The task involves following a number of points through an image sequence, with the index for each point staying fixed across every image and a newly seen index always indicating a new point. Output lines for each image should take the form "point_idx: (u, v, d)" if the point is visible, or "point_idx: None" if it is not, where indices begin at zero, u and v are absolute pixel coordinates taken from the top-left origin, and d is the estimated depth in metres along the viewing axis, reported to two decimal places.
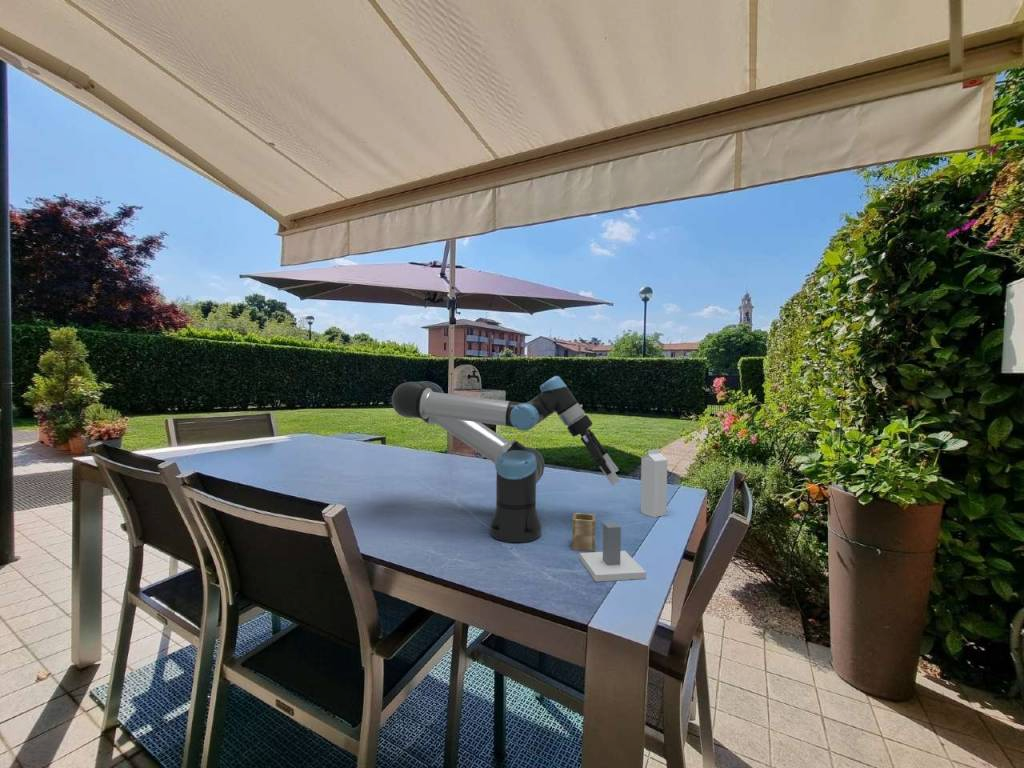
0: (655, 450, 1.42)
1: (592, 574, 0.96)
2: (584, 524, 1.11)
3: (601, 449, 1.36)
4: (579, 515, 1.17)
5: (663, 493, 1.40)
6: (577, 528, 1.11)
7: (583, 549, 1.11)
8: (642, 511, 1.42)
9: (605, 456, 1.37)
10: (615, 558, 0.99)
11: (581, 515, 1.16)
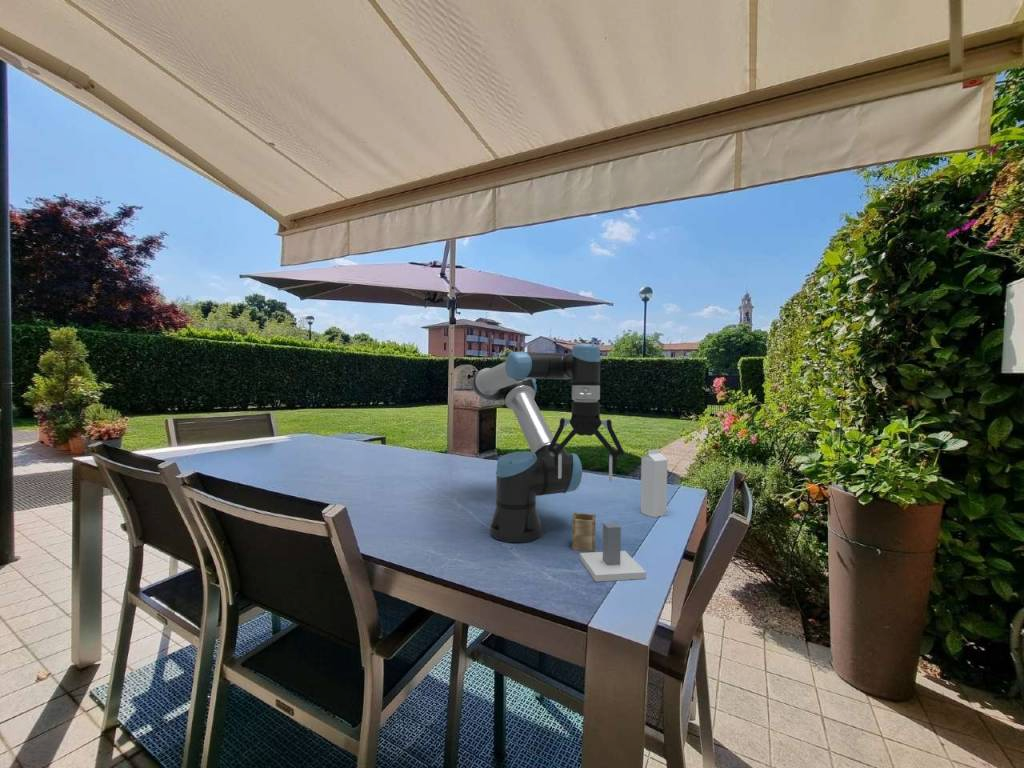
0: (655, 450, 1.42)
1: (592, 574, 0.96)
2: (584, 524, 1.11)
3: None
4: (579, 515, 1.17)
5: (663, 493, 1.40)
6: (577, 528, 1.11)
7: (583, 549, 1.11)
8: (642, 511, 1.42)
9: (609, 458, 1.12)
10: (615, 558, 0.99)
11: (581, 515, 1.16)
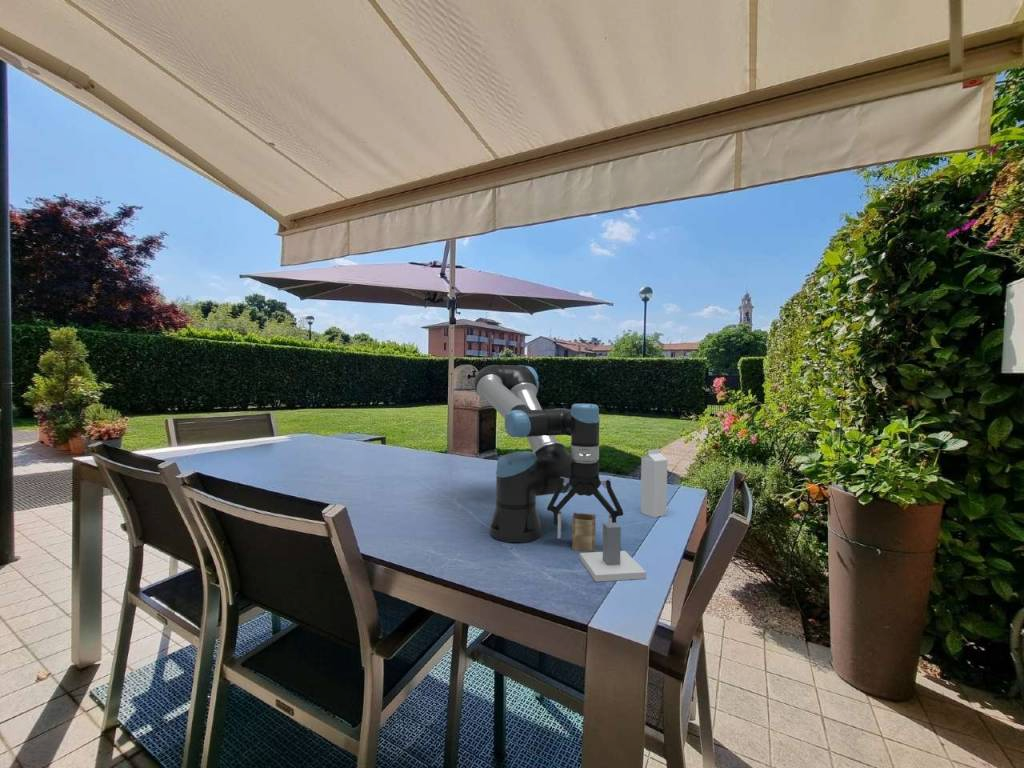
0: (655, 450, 1.42)
1: (592, 574, 0.96)
2: (584, 524, 1.11)
3: (606, 509, 1.12)
4: (579, 515, 1.17)
5: (663, 493, 1.40)
6: (577, 528, 1.11)
7: (583, 549, 1.11)
8: (642, 511, 1.42)
9: None
10: (615, 558, 0.99)
11: (581, 515, 1.16)
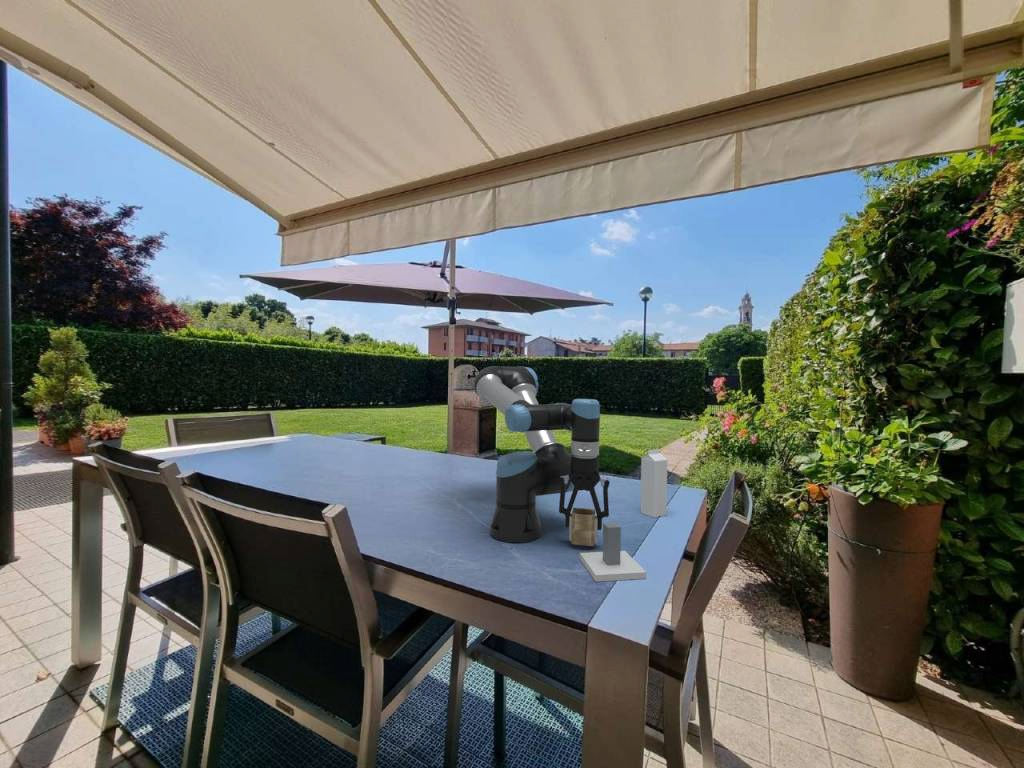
0: (655, 450, 1.42)
1: (592, 574, 0.96)
2: (583, 519, 1.11)
3: None
4: (579, 510, 1.17)
5: (663, 493, 1.40)
6: (577, 523, 1.12)
7: (582, 544, 1.12)
8: (642, 511, 1.42)
9: None
10: (615, 558, 0.99)
11: (581, 510, 1.17)
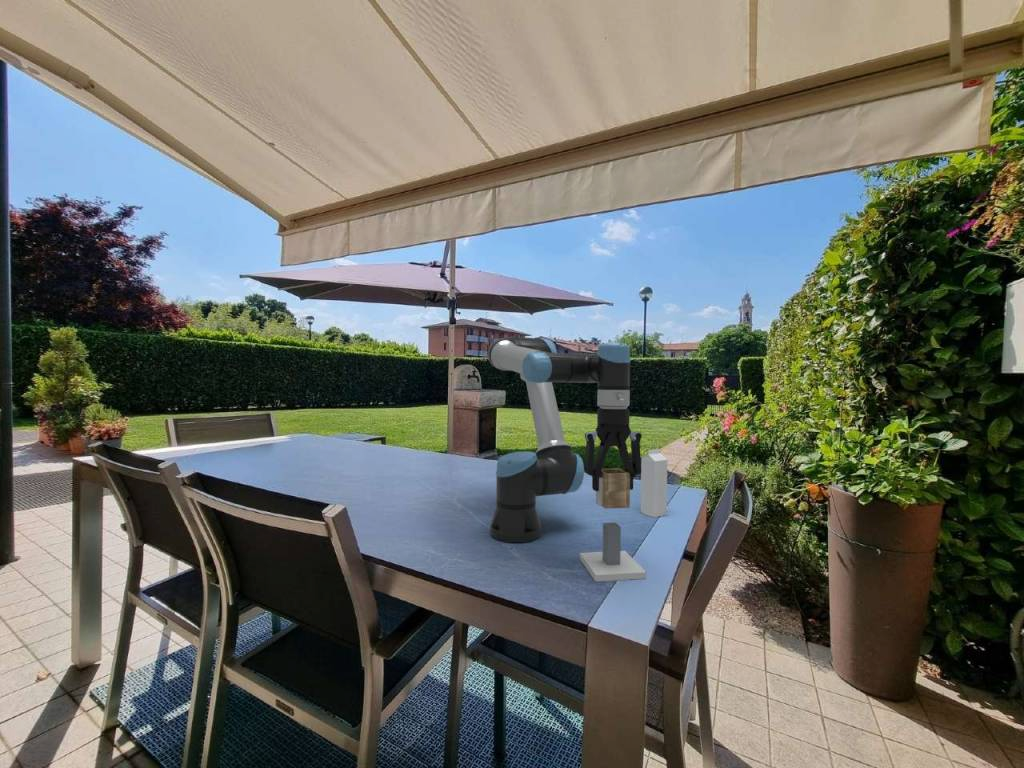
0: (655, 450, 1.42)
1: (592, 574, 0.96)
2: (618, 478, 0.98)
3: (625, 465, 1.00)
4: (603, 471, 1.03)
5: (663, 493, 1.40)
6: (611, 483, 0.97)
7: (617, 506, 0.98)
8: (642, 511, 1.42)
9: None
10: (615, 558, 0.99)
11: (606, 470, 1.03)
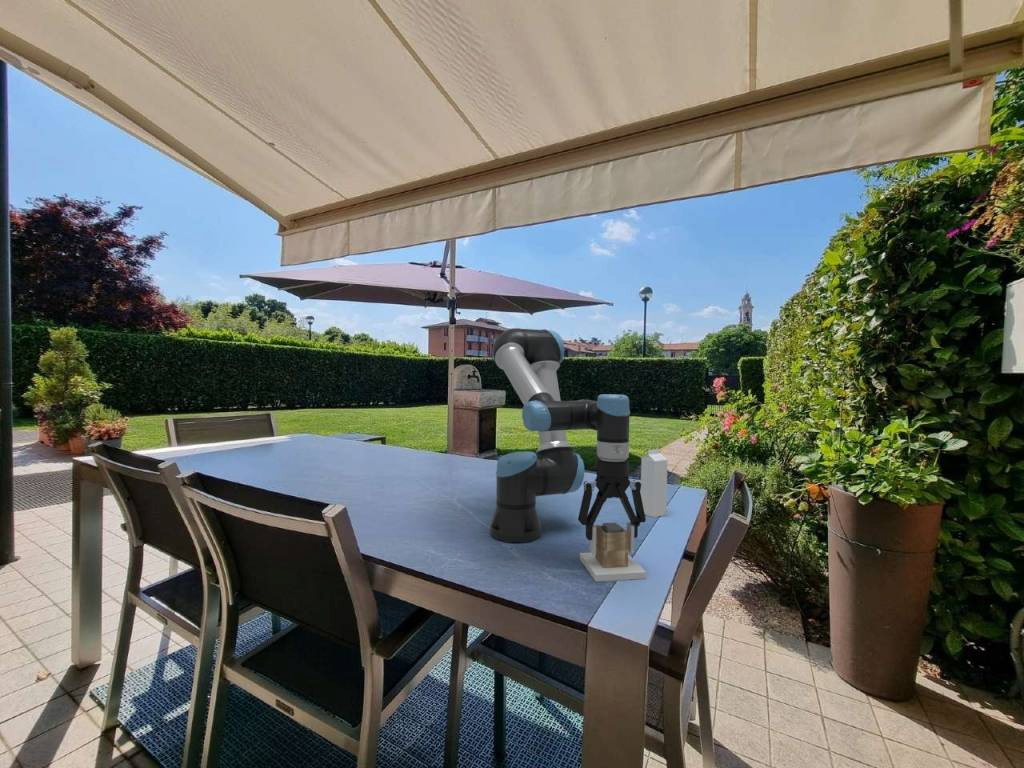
0: (655, 450, 1.42)
1: (592, 574, 0.96)
2: (617, 537, 0.98)
3: (629, 514, 1.01)
4: (602, 527, 1.03)
5: (663, 493, 1.40)
6: (609, 543, 0.98)
7: (615, 566, 0.98)
8: None
9: (629, 527, 1.01)
10: None
11: None
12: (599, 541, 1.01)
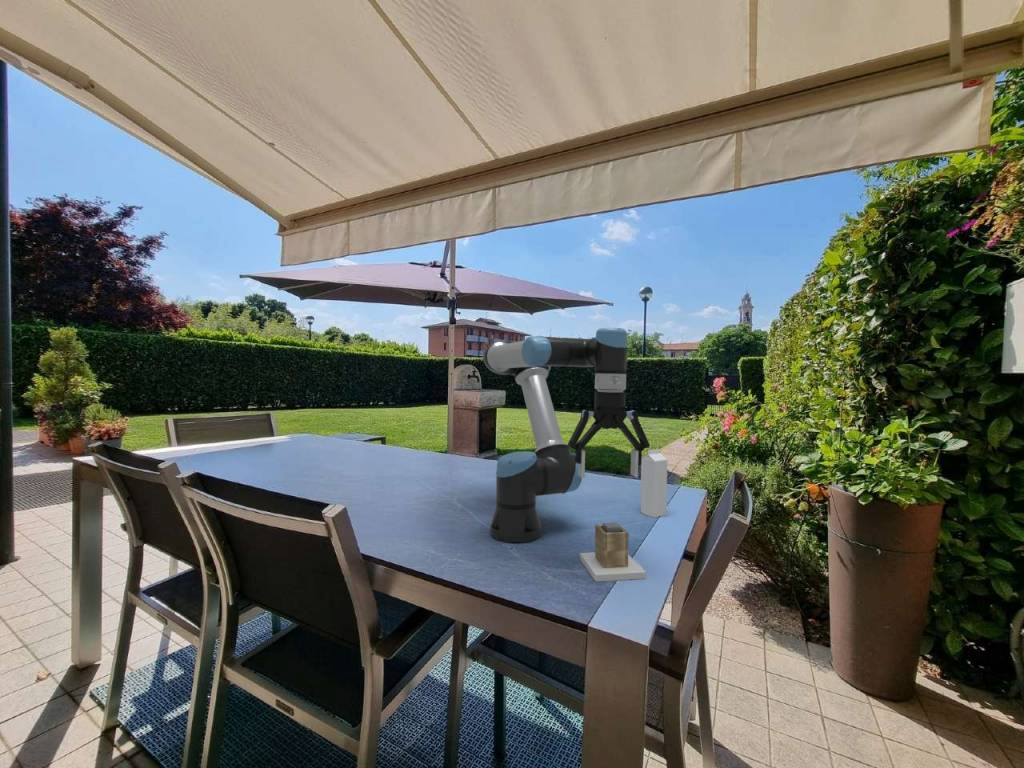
0: (655, 450, 1.42)
1: (592, 574, 0.96)
2: (617, 537, 0.98)
3: (632, 442, 1.04)
4: (602, 527, 1.03)
5: (663, 493, 1.40)
6: (609, 543, 0.98)
7: (615, 566, 0.98)
8: (642, 511, 1.42)
9: (633, 452, 1.04)
10: None
11: None
12: (599, 541, 1.01)
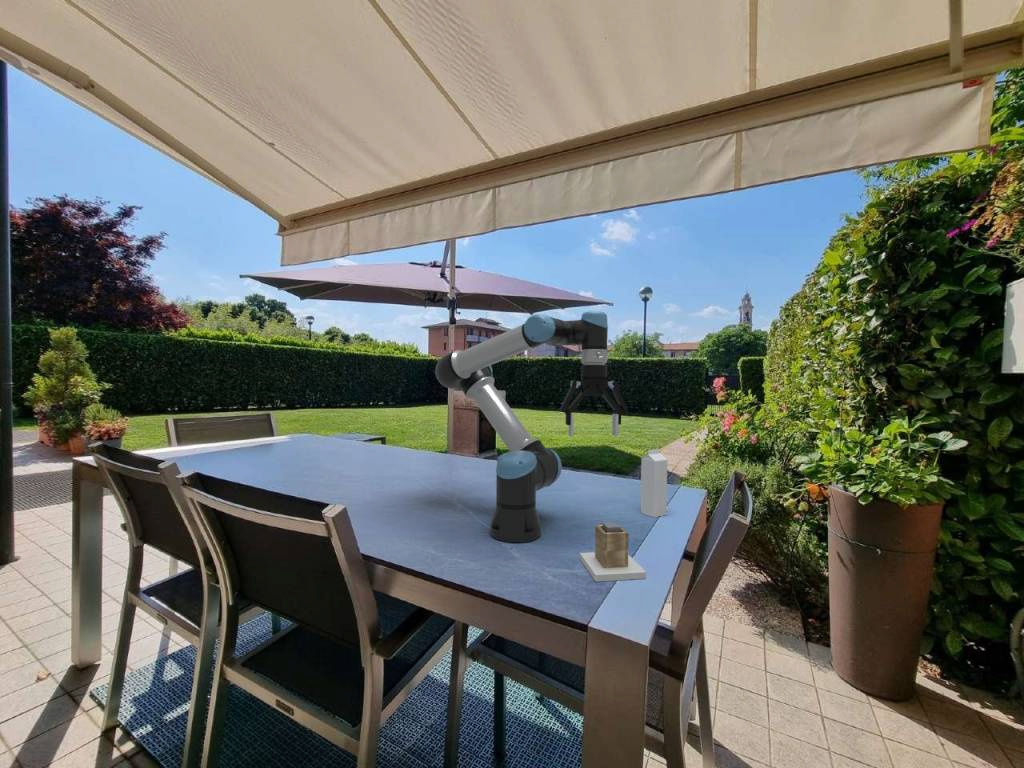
0: (655, 450, 1.42)
1: (592, 574, 0.96)
2: (617, 537, 0.98)
3: (613, 407, 1.24)
4: (602, 527, 1.03)
5: (663, 493, 1.40)
6: (609, 543, 0.98)
7: (615, 566, 0.98)
8: (642, 511, 1.42)
9: (614, 415, 1.25)
10: None
11: None
12: (599, 541, 1.01)
